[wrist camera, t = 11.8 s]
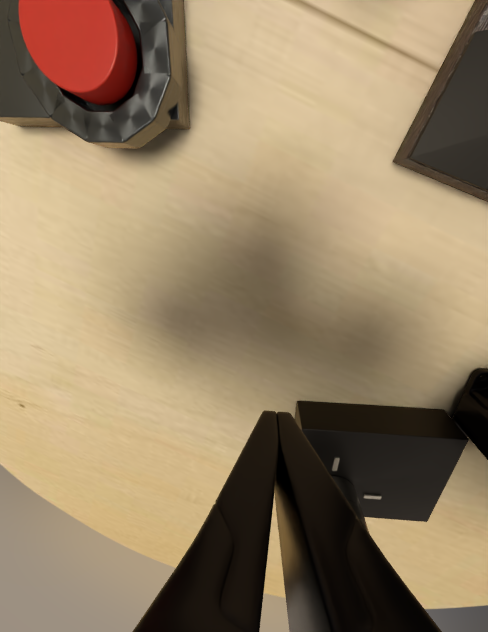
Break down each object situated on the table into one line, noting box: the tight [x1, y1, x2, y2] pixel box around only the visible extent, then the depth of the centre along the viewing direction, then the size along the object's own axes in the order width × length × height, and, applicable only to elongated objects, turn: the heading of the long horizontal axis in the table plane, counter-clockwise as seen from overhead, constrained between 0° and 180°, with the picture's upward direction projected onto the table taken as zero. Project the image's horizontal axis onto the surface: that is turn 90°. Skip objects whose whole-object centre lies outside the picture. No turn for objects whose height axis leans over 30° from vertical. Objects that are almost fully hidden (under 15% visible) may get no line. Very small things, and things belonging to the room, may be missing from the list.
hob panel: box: [295, 401, 469, 522], centre depth 24 cm, size 13×11×3 cm
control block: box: [0, 0, 190, 148], centre depth 12 cm, size 10×9×4 cm
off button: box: [19, 0, 137, 105], centre depth 11 cm, size 4×4×2 cm
